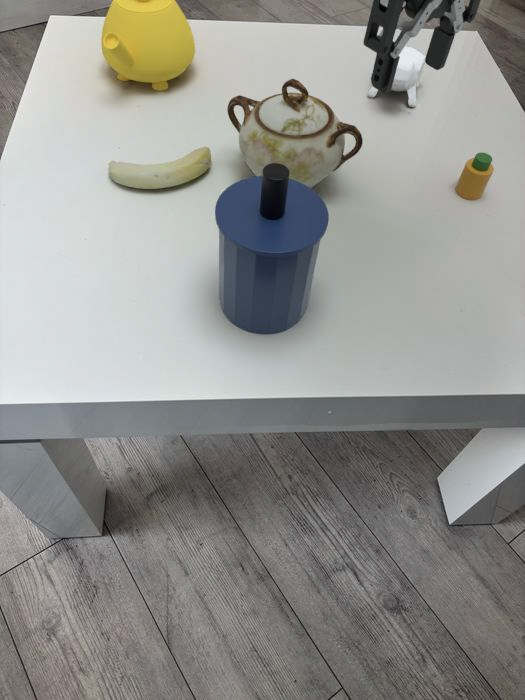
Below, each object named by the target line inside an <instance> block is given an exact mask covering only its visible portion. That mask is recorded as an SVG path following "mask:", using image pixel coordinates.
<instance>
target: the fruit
mask: <svg viewBox="0 0 525 700" xmlns="http://www.w3.org/2000/svg"><path fill="white" fill-rule="evenodd" d="M211 165H212V154H211V149H210V147H209V146H203V147H200V148H197V149H194V150H193V151H191V152H190V153H188V154H186V155H184V156H183V157H180V158H178V159H175V160H172V161H168V162H163V163H155V164H153V163H152V164H138V163H132V162H126V161H114V160H110V161H109V163H108V174H109V176H110V179H111V180H112V182H113V181H114V182H115V183H117V184H119V185H121V186H125V187H130V188H135V189H141V190H142V189H143V190H155V189H156V190H157V189H164V188H172V187H176V186H180V185H183V184H186V183H188V182H190V181H193V180H194V179H197V178H199V177H200V176H202V175H203V174H204V173H206V172H207V170H208V169H209V168H211Z"/></svg>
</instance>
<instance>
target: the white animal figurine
mask: <svg viewBox="0 0 525 700" xmlns="http://www.w3.org/2000/svg"><path fill="white" fill-rule="evenodd" d="M426 55H427V54H426ZM426 55H425V54H423V53H422V52H420V51H418V50H417V49H415V48H413V47H411V46H407V45H405V47H404V48H403V50H402V51H401V53H400V54H399V56H400V58H399V62H398V66H397V69H396V73H395V77H394V81H393V84H392V88H391V90H390V91H394V92H406V94H407V96H408V100H407V104H408V107H410V108H415V107H416V106H417V87H418V86H419V84H420V80H421V77H422V73H423V70H424V66H425V64H426V62H425V58H426ZM378 91H379V90H378V89H376V88H375V87H373V86H371V88H370V89H369V91H368V93H367V97H368V98H371V99H373V98H374V97H376V96H377V94H378Z"/></svg>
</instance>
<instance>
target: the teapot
mask: <svg viewBox="0 0 525 700" xmlns="http://www.w3.org/2000/svg"><path fill="white" fill-rule="evenodd" d="M195 45H196V43H195V39H194V35H193V31H192V29H191V26H190V23H189V21H188V19H187V18H186V15H185V14H184V12H183V10H182V9H181V7H180V6H179V4H178V3H177V1H176V0H112V2H111V3H110V5H109V8H108V11H107V12H106V16H105V18H104V21H103V25H102V31H101V45H100V46H101V52H102V56H103V59H104V60H105V61H106V63H107V64H108V65H109V66H110V67H111V69H113V70H114V71H115V72H117V75H116V78H117V79H118V80H119V81H122V82H128V81H131V80H132V81H135V82H141V83H151V87H152V89H153V90H155V91H158V92H159V91H161V92H162V91H166V90H167V89H168V88H169V84H168V81H170V80H173V79H175V78H177V77H179V76H180V75H182V74H183V73H184V72H185V71H186V70H187V69H188V68H189V67H190V65H191V63H192V62H193V60H194V58H195V54H196V46H195Z"/></svg>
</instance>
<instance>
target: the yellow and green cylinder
mask: <svg viewBox="0 0 525 700" xmlns="http://www.w3.org/2000/svg"><path fill="white" fill-rule="evenodd" d="M492 162H493V157H492V156H491V155H490V154H488V152H487V153H486V152H478V153H476V154H475V156H474V157H471V158H469V159H467V160H466V162H465V165H464V167H463V169H462V171H461V173H460V176H459V179H458V181H457V183H456V186H455V193H457V195H458V196H459V197H461V198H463V199H466V200H470V201H475V200H479V199H480V198H481V197H482V196H483V193H484V191H485V190H486V187H487V185H488V184H489V181H490V179H491V177H492V175H493V173H494V170H495V168H494V165H493V164H492Z"/></svg>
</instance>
